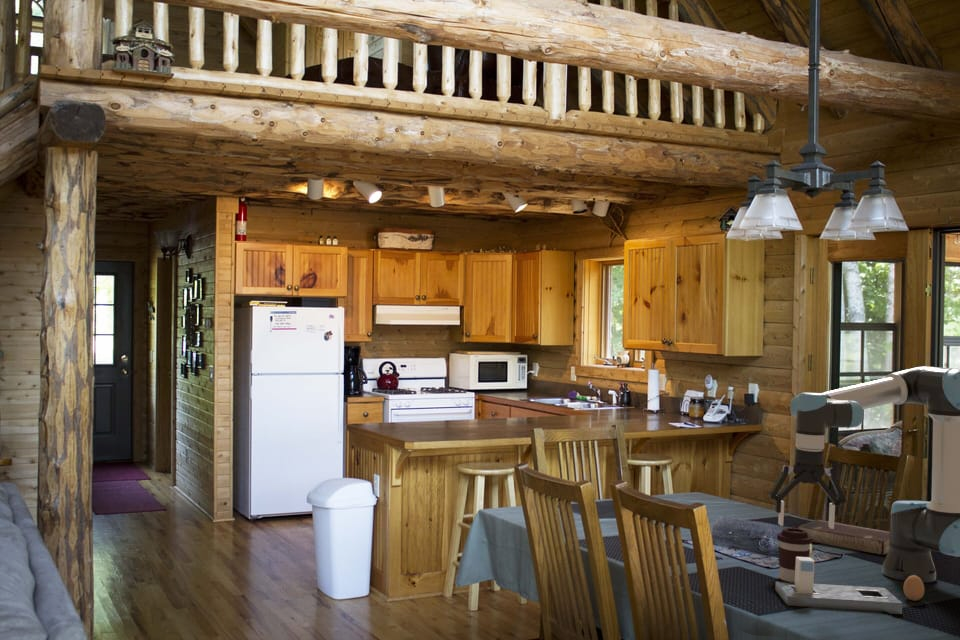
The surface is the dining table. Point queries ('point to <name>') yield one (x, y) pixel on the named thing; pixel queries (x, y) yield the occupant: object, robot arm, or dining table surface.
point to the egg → (913, 588)
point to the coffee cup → (792, 550)
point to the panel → (841, 597)
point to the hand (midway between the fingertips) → (805, 526)
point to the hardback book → (848, 536)
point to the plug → (804, 574)
